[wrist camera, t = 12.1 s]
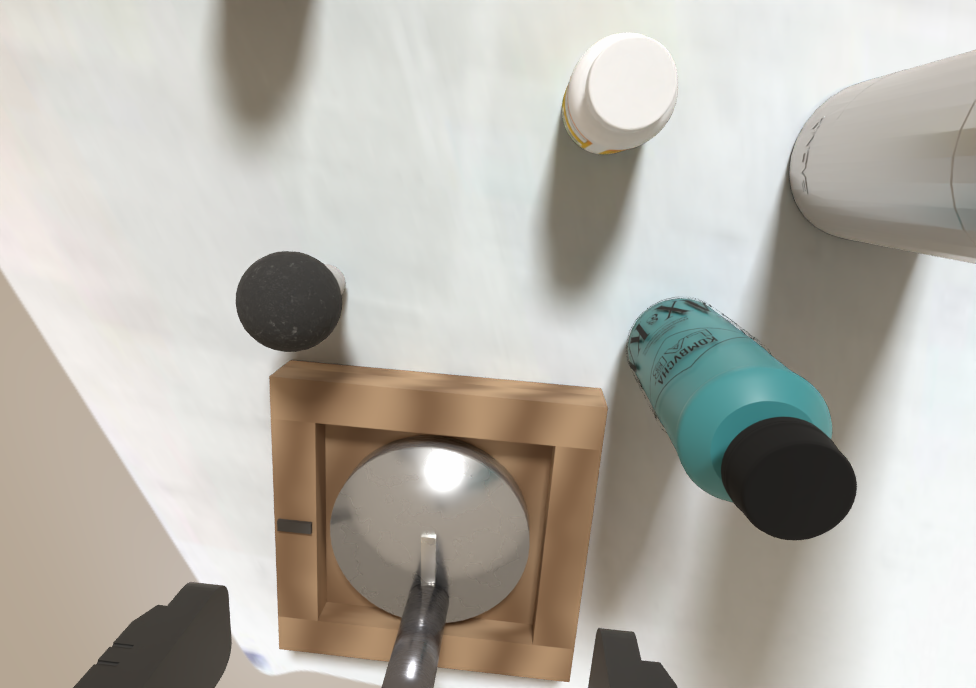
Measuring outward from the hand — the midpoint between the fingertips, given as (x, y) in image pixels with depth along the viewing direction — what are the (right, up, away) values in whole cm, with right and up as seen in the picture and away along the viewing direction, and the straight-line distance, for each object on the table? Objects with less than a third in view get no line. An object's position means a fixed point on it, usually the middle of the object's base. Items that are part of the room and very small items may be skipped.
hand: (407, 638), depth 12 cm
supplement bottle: (+9, +21, +23) cm, 32 cm away
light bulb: (-9, +11, +27) cm, 30 cm away
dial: (-2, -7, +30) cm, 31 cm away
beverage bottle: (+14, +7, +27) cm, 31 cm away
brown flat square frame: (-2, -6, +31) cm, 32 cm away
